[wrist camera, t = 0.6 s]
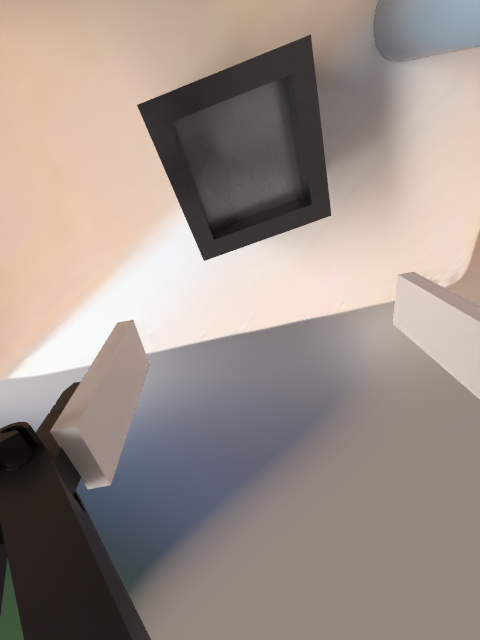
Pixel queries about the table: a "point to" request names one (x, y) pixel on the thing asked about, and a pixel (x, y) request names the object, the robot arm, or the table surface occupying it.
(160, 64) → the table surface
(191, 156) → the square planter pot
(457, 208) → the table surface
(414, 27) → the white-capped blue bottle
